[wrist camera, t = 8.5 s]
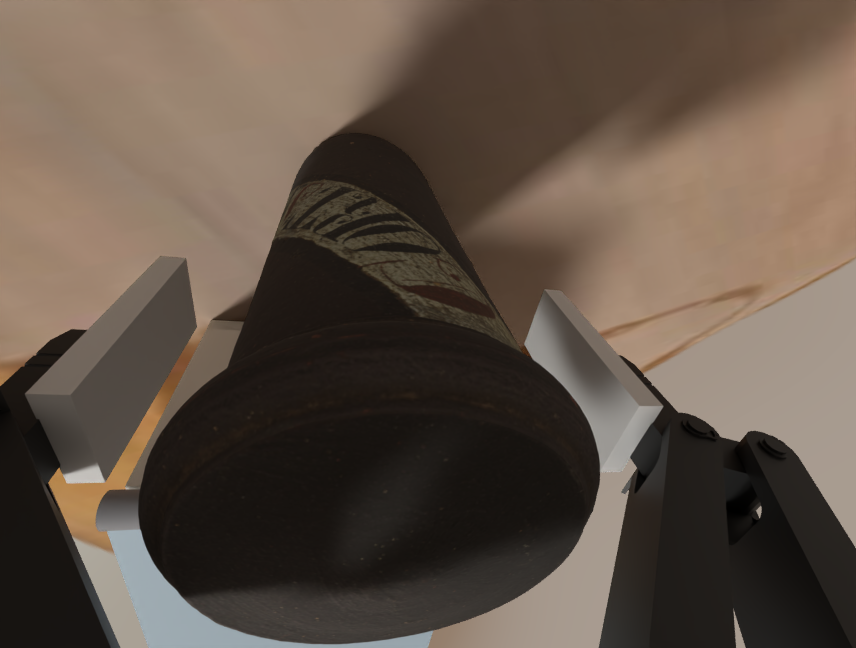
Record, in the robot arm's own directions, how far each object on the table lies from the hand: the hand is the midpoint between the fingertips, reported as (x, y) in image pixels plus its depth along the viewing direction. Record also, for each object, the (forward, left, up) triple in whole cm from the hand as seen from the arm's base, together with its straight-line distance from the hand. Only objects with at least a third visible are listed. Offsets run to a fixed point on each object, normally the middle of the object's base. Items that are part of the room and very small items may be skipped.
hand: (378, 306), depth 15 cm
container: (0, 0, -10) cm, 10 cm away
